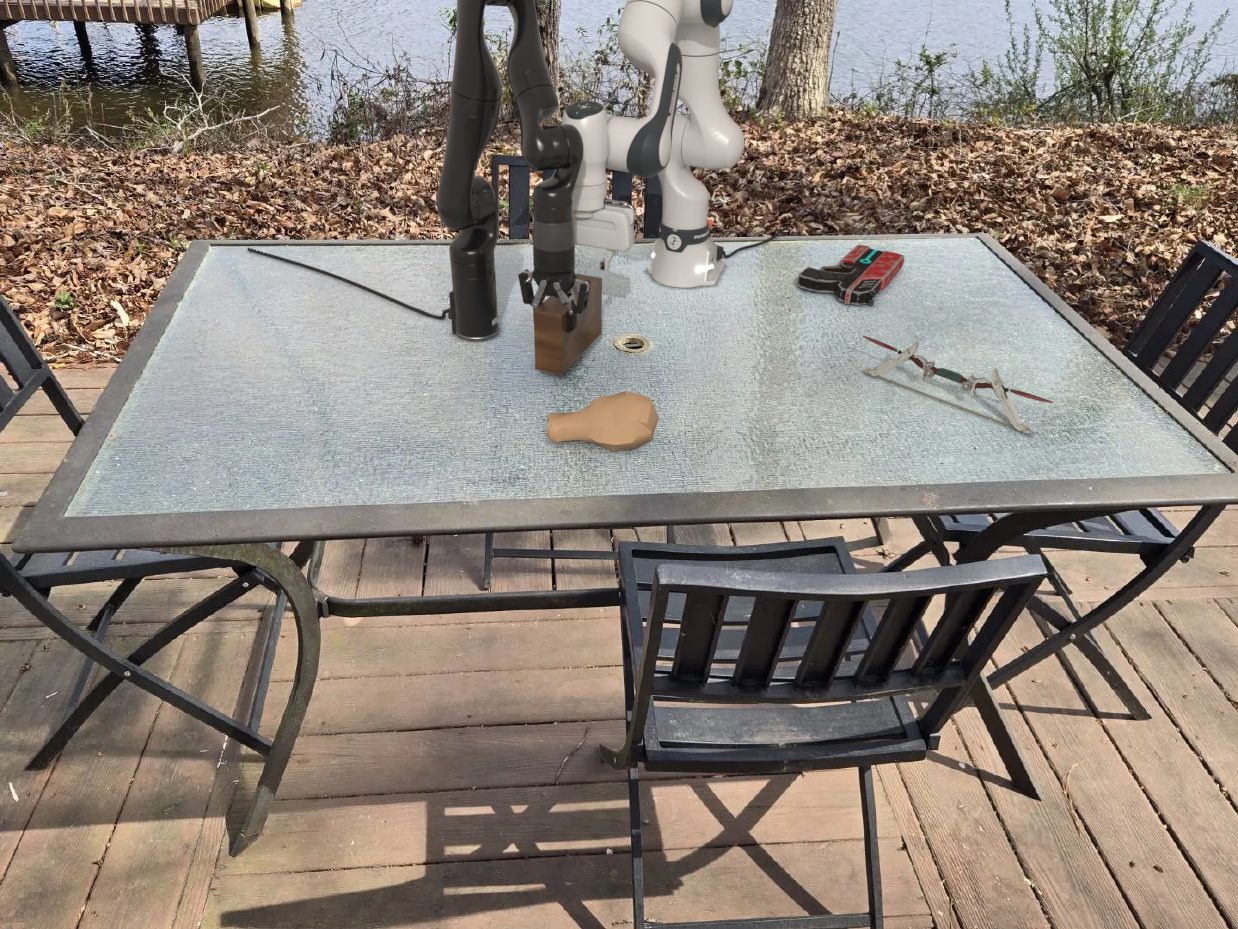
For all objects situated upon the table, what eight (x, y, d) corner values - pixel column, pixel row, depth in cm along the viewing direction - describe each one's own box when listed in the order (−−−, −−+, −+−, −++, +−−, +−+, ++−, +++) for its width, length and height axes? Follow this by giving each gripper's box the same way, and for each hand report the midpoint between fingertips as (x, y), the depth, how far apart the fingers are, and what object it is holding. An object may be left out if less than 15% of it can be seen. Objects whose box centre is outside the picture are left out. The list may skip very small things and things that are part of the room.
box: (562, 375, 168) (561, 315, 161) (535, 369, 169) (533, 310, 162) (601, 333, 183) (602, 277, 176) (576, 328, 185) (576, 273, 178)
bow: (1043, 436, 162) (1060, 388, 156) (1039, 439, 161) (1056, 392, 155) (858, 367, 183) (866, 322, 177) (853, 369, 182) (862, 325, 176)
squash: (661, 458, 153) (657, 419, 147) (548, 466, 154) (539, 428, 148) (659, 417, 161) (656, 379, 154) (552, 426, 162) (544, 388, 156)
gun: (795, 274, 213) (872, 294, 206) (838, 237, 235) (909, 253, 227) (792, 292, 216) (868, 311, 208) (835, 253, 238) (905, 269, 230)
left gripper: (598, 241, 158) (597, 327, 168) (526, 230, 162) (529, 314, 172) (582, 255, 152) (582, 343, 162) (508, 242, 156) (512, 329, 166)
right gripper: (641, 198, 165) (637, 268, 172) (542, 184, 171) (543, 253, 178) (629, 207, 160) (626, 279, 167) (528, 192, 166) (529, 263, 173)
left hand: (555, 327), depth 167 cm, fingers closed on box, 5 cm apart
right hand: (583, 265), depth 173 cm, fingers open, 8 cm apart
